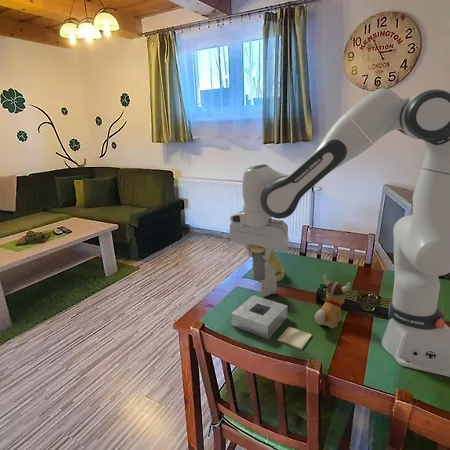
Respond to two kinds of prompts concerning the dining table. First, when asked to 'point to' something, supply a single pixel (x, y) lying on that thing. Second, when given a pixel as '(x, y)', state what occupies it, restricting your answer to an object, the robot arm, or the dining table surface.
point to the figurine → (275, 266)
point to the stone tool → (268, 281)
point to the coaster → (294, 338)
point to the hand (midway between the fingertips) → (258, 257)
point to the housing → (259, 316)
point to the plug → (258, 262)
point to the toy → (332, 304)
